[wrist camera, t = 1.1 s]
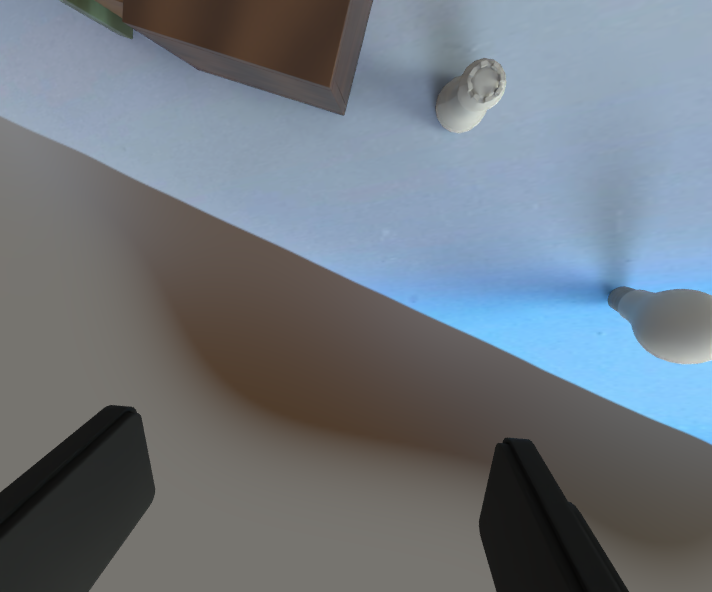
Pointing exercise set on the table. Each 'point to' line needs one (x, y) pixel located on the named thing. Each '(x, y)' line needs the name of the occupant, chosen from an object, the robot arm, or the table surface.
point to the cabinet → (263, 42)
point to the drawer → (103, 14)
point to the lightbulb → (668, 322)
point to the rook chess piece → (470, 95)
